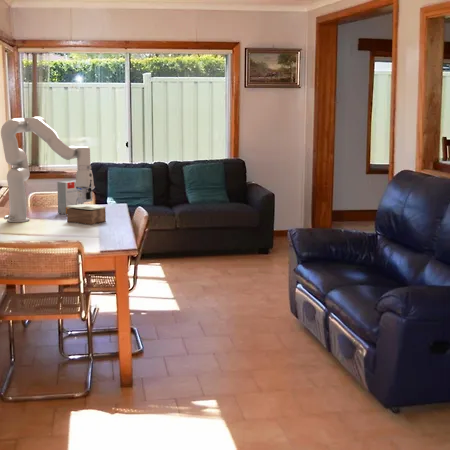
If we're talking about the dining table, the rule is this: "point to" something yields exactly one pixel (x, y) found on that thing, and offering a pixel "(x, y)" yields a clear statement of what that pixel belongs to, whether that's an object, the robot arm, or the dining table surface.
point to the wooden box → (86, 216)
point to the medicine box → (83, 195)
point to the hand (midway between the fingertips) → (84, 198)
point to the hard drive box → (66, 195)
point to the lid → (85, 207)
